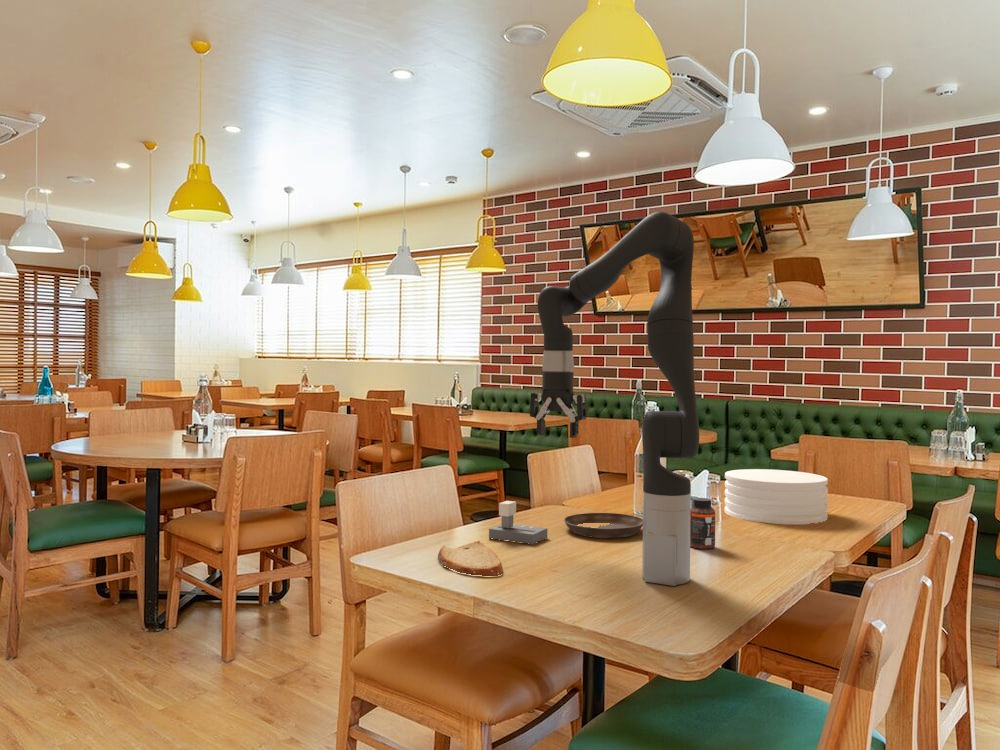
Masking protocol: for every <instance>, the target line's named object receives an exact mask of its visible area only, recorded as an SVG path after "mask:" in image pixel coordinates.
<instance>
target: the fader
mask: <svg viewBox="0 0 1000 750" xmlns="http://www.w3.org/2000/svg"><path fill="white" fill-rule="evenodd" d="M516 514H517V501H514V500H513V501H512V500H505V501H502V502H499V503H498V516H501V524H502V527H503V528H511V527H513V524H514V516H515V515H516Z"/></svg>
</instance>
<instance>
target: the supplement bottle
mask: <svg viewBox="0 0 1000 750" xmlns="http://www.w3.org/2000/svg"><path fill="white" fill-rule="evenodd" d="M692 504H693V506H691V512H690V548H693V549H699V550H711V549H714V548H715V547H716V510H715V509H714V508H713V507H712V499H710V498H709V497H708V498H705V497H695V498H693V503H692Z"/></svg>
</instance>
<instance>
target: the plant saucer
mask: <svg viewBox="0 0 1000 750" xmlns="http://www.w3.org/2000/svg"><path fill="white" fill-rule="evenodd" d="M563 521H564V524H565V525H566V526H567V528H568V530H570V531H571V532H572V531H573V533H574V532H575V533H574V534H576V533H577V534H576V535H578V534H581V535H580V536H582V535H585V536H584V537H587V536H592V537H591V538H594V537H601V538H600V539H619V538H618V537H623V538H627V537H631V535H632V536H634V535H635V534H637V533H638V532H639V531H640V530H641V528H643V517H640V516H635V515H631V514H626V513H625V514H622V513H615V512H587V513H586V512H585V513H578V514H577V513H576V514H573V515H572V514H571V515H567V516H566V517H564V518H563ZM583 523H610V524H609V525H606V526H604V525H603V526H601V525H600V526H599V527H598V528H591V527H583V526H577V525H578V524H583ZM611 524H612V525H611Z"/></svg>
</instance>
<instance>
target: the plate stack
mask: <svg viewBox="0 0 1000 750" xmlns="http://www.w3.org/2000/svg"><path fill="white" fill-rule="evenodd" d="M724 479H726V480H725V481H724V487H725V489H724V496H725V497H724V505H725V506H724V513H725V514H727V515H729V516H730V517H733V518H737V519H741V520H745V521H751V522H757V523H765V524H776V525H811V524H810V523H815V524H819V523H818V522H821V523H824V522H826V521H828V519H827V518H828V513H827V511H828V510H829V507H828V504H827V503H828V502H829V499H828V498H829V497H828V495H827V494H828V492H829V487H827V485H828V484H829V483H828V482H829V478H828V477H826V476H823V475H820V474H815V473H813V472H812V473H811V472H805V471H798V470H796V471H795V470H785V469H783V470H782V469H771V468H769V469H767V468H765V469H764V468H762V469H761V468H749V469H748V468H746V469H745V468H744V469H743V468H742V469H733V470H728V471H726V472H725V473H724ZM825 520H826V521H825ZM823 521H824V522H823Z"/></svg>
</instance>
